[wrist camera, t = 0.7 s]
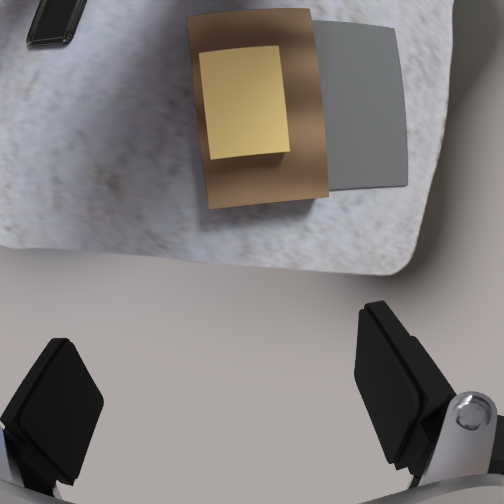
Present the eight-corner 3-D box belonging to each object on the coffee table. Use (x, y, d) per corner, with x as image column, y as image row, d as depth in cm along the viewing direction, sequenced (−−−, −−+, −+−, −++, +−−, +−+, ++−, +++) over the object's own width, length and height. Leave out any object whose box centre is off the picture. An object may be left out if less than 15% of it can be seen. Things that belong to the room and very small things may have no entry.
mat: (306, 21, 27) (306, 20, 26) (393, 29, 27) (394, 28, 27) (323, 189, 34) (324, 190, 34) (406, 184, 34) (407, 185, 34)
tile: (201, 58, 25) (198, 53, 23) (275, 51, 25) (278, 45, 23) (212, 157, 28) (210, 159, 26) (286, 150, 28) (289, 151, 26)
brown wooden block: (192, 29, 27) (187, 17, 23) (301, 21, 27) (309, 8, 23) (212, 201, 34) (209, 209, 30) (319, 190, 34) (329, 197, 30)
